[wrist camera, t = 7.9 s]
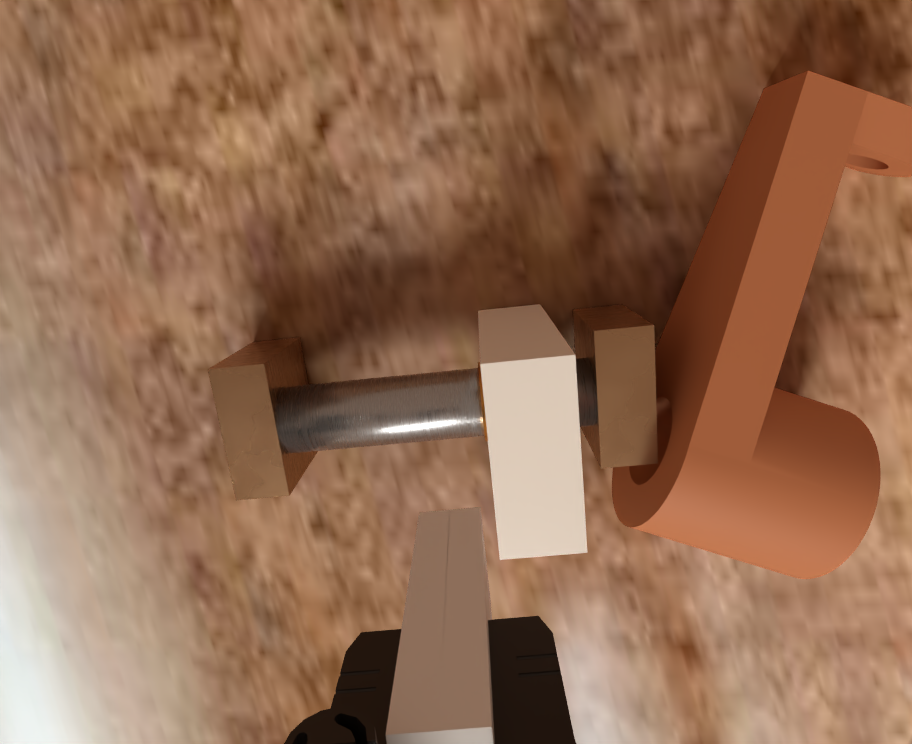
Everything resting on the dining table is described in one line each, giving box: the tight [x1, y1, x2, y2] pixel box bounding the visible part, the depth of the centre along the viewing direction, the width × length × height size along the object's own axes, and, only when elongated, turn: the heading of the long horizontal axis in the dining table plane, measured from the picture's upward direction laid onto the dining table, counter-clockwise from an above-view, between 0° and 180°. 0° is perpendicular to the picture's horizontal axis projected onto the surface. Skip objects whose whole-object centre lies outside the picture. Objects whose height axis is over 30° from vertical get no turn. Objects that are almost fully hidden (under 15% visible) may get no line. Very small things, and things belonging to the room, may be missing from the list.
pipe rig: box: [208, 304, 658, 500], centre depth 28 cm, size 18×6×6 cm, turn 96°
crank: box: [612, 71, 912, 579], centre depth 26 cm, size 20×8×8 cm, turn 162°
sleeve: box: [478, 304, 587, 560], centre depth 25 cm, size 3×7×11 cm, turn 6°
